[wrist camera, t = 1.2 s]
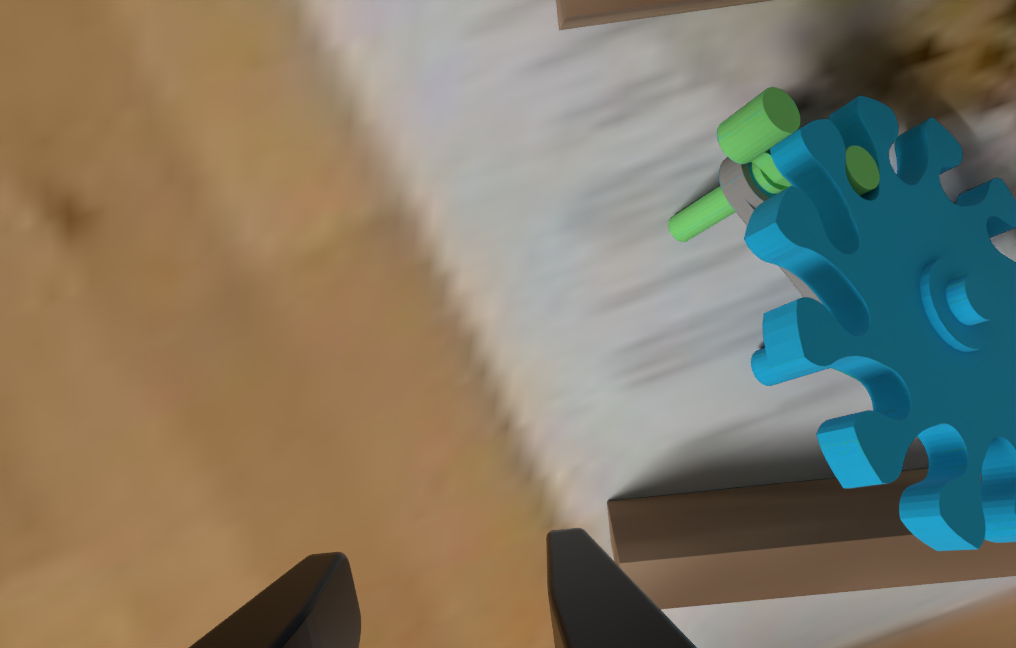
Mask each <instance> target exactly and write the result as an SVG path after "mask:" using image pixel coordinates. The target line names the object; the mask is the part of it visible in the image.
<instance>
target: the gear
mask: <svg viewBox="0 0 1016 648" xmlns="http://www.w3.org/2000/svg"><path fill="white" fill-rule="evenodd" d="M800 120H801V119H800V114H799V111H798V108H797V106H796V104H795V103H794V101H793V100H792V98H791V97H790V96H789V95H788V94H787V93H785V92H784V91H783V90H781V89H779V88H776V87H770V88H767V89H766V90H765V91H763V92H762V93H761V94H759V95H758V96H757V97H755V98H754V99H753V100H751V101H750V102H749V103H748V104H746V105H745V106H744V107H742V108H741V109H740V110H738V111H737V112H736V113H734V114H733V115H732V116H730V117H729V118H728V119H726V120H725V121H724V122H722V123H721V124H720V125H719V127H718V130H717V138H718V142H719V145H720V147H721V149H722V150H723V152H724V153H725V154H726V155H727V156H728V158H726V159H725V160H724V161H723V162H722V164H721V166H720V170H719V182H720V186H719V187H717V188H716V189H714V190H713V191H711V192H709V193H708V194H706V195H705V196H703V197H702V198H700V199H699V200H697V201H696V202H694V203H693V204H691V205H690V206H688V207H687V208H685V209H683V210H682V211H680V212H679V213H677V214H676V215H674V216H673V217H671V218H670V220H669V225H668V226H669V230H670V233H671V234H672V236H673V237H674V238H675V239H677V240H678V241H680V242H686V241H688V240H689V239H691V238H693V237H694V236H696V235H698V234H699V233H701V232H703V231H704V230H706V229H708V228H710V227H711V226H713V225H715V224H716V223H718V222H720V221H721V220H723V219H725V218H726V217H728V216H730V215H731V214H733V213H735V212H736V213H737V214H738V215H739V216H740V218H741V219H742V220H743V222H744V223H745V224H746V225H747V229H746V233H745V237H744V240H745V242H746V244H747V246H748V247H749V248H750V250H751V251H752V252H753V253H754V254H755V255H756V256H757V257H758V258H760V259H761V260H763V261H765V262H768V263H772V264H775V265H778V266H779V267H780V268H781V269H782V271H783V272H784V273H785V274H786V276H787V277H788V278H789V279H790V281H791V282H792V283H793V284H794V286H795V287H796V288H797V289H798V291H799V292H800V293H801V294H802V296H803V298H800V299H797V300H795V301H793V302H790V303H788V304H785V305H783V306H781V307H778V308H776V309H773V310H771V311H769V312H766V313H764V317H763V338H764V345H765V348H762V349H760V350H757V351H756V352H754V354H753V355H752V358H751V367H752V371H753V373H754V375H755V377H756V378H757V380H758V381H759V382H760V383H762V384H764V385H766V386H772V385H775V384H778V383H782V382H785V381H788V380H792V379H795V378H798V377H802V376H805V375H808V374H812V373H815V372H818V371H822V370H825V369H828V368H832V369H835V370H838V371H840V372H843V373H845V374H847V375H849V376H851V377H853V378H855V379H857V380H858V381H860V382H861V383H862V384H863V385H864V386H865V388H866V389H867V391H868V393H869V395H870V397H871V400H872V403H873V411H864V412H859V413H855V414H851V415H846V416H842V417H838V418H833V419H829V420H826V421H825V422H824V423H822V424H821V426H820V427H819V429H818V432H817V434H816V435H817V438H818V441H819V444H820V447H821V450H822V452H823V454H824V457H825V459H826V461H827V462H828V464H829V466H830V468H831V469H832V471H833V473H834V474H835V476H836V477H837V479H838V481H839V482H840V484H841V485H842V487H843V488H857V487H865V486H872V485H880V484H888V483H891V482H893V481H895V480H896V479H897V478H898V477H899V475H900V473H901V471H902V467H903V463H904V459H905V456H906V453H907V451H908V448H909V446H910V445H911V443H912V442H913V440H914V439H915V437H916V436H917V437H918V438H919V439H920V440H921V442H922V443H923V445H924V447H925V449H926V452H927V455H928V460H929V469H928V474H927V476H926V478H925V479H924V480H922V481H921V482H918V483H916V484H913V485H911V486H909V487H907V488H906V489H905V490H904V491H903V493H902V495H901V498H900V503H899V514H900V519H901V521H902V522H903V523H904V525H905V526H906V527H907V529H908V530H909V531H910V532H911V533H912V534H913V535H914V536H915V537H917V538H918V539H919V540H921V541H922V542H923V543H925V544H926V545H928V546H930V547H931V548H933V549H934V550H936V551H951V550H975V549H979V548H980V547H981V546H982V544H983V541H984V539H985V540H987V541H990V542H995V543H1004V542H1016V262H1014V261H1012V260H1011V259H1009V258H1008V257H1006V256H1004V255H1003V254H1001V253H1000V252H999V251H998V250H997V249H996V248H995V247H994V245H993V244H992V242H991V240H990V238H991V237H994V236H996V235H999V234H1001V233H1004V232H1006V231H1009V230H1011V229H1014V228H1016V201H1015V199H1014V197H1013V196H1012V194H1011V192H1010V191H1009V189H1008V188H1007V186H1006V185H1005V183H1004V181H1003V180H1002V179H999V178H994V179H992V180H990V181H988V182H986V183H983V184H981V185H979V186H977V187H975V188H973V189H970V190H968V191H966V192H964V193H962V194H960V195H959V197H958V199H957V203H956V205H955V204H954V203H953V202H952V201H951V200H950V199H949V198H948V197H947V196H946V194H945V193H944V191H943V189H942V186H941V183H940V179H939V175H940V174H942V173H944V172H946V171H948V170H950V169H952V168H954V167H956V166H958V165H959V164H960V163H961V161H962V157H963V153H962V147H961V146H960V145H959V143H958V142H957V140H956V139H955V138H954V137H953V136H952V135H951V134H950V132H949V131H947V130H946V129H945V128H944V127H943V126H942V125H941V124H940V123H939V122H938V121H936V120H935V119H934V118H933V117H931V118H929V119H927V120H926V121H924V122H922V123H920V124H919V125H917V126H915V127H913V128H912V129H910V130H908V131H906V132H905V133H903V134H901V135H899V136H898V132H899V128H898V122H897V119H896V116H895V114H894V112H893V110H892V109H890V108H889V107H888V106H886V105H885V104H883V103H881V102H879V101H877V100H874V99H871V98H868V97H864V96H860V95H859V96H858V97H856V98H855V99H853V100H852V101H850V102H849V103H847V104H846V105H844V106H843V107H841V108H840V109H838V110H836V111H835V112H833V113H832V114H830V115H829V118H828V120H827V119H820V120H815V121H813V122H810V123H808V124H807V125H805V126H804V127H802V128H800V129H799V130H798V128H799V126H800ZM795 131H796V132H795ZM792 133H793V134H792ZM789 135H790V136H789ZM786 137H787V138H786ZM783 139H784V140H783ZM895 140H896V141H895ZM780 141H781V142H780ZM894 141H895V152H896V157H897V175H896V173H895V172H894V170H893V168H892V166H891V164H890V160H889V149H890V147H891V145H892V144H893V143H894ZM981 472H982V482H981Z"/></svg>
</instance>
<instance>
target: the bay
mask: <svg viewBox="0 0 1016 648" xmlns="http://www.w3.org/2000/svg"><path fill="white" fill-rule="evenodd" d="M763 1H771V0H556V3H557V13H558V23H559V30H563V29H570V28H577V27H585V26H592V25H599V24H606V23H613V22H620V21H628V20H635V19H642V18H649V17H656V16H663V15H670V14H678V13H685V12H692V11H699V10H706V9H713V8H721V7H728V6H735V5H742V4H749V3H756V2H763ZM928 469H929V468H928ZM928 469H918V470H908V471H901V473H900V475H899V477H898V478H897V479H896V480H895V481H893V482H891V483H888V484H880V485H872V486H865V487H857V488H843V487H842V485H841V484H840V482H839V481H838V479H837V478H830V479H821V480H811V481H801V482H792V483H782V484H772V485H762V486H753V487H743V488H733V489H724V490H714V491H704V492H694V493H685V494H675V495H665V496H655V497H646V498H636V499H626V500H617V501H607V506H608V516H609V526H610V535H611V545H612V551H613V556H614V561H615V563H616V564H617V565H618V566H619V567H620V568H621V569H622V570H623V571H624V572H625V573H626V574H627V575H628V576H629V577H630V578H631V580H632V581H633V582H634V583H635V584H636V585H637V586H638V587H639V588H640V589H641V590H642V591H643V592H644V593H645V594H646V595H647V596H648V597H649V598H650V599H651V600H652V601H653V603H654V604H655V605H656V606H657V607H658V608H659V609H668V608H678V607H689V606H699V605H710V604H721V603H731V602H742V601H753V600H763V599H774V598H784V597H795V596H806V595H816V594H827V593H838V592H848V591H859V590H869V589H880V588H891V587H901V586H912V585H922V584H933V583H944V582H954V581H965V580H976V579H986V578H997V577H1007V576H1016V542H1004V543H995V542H990V541H987V540H985V539H984V541H983V544H982V546H981V547H980V548H979V549H975V550H951V551H936V550H934V549H933V548H931V547H930V546H928V545H926V544H925V543H923V542H922V541H921V540H919V539H918V538H917V537H915V536H914V535H913V534H912V533H911V532H910V531H909V530H908V529H907V527H906V526H905V525H904V523H903V522H902V521H901V519H900V514H899V503H900V498H901V495H902V493H903V491H904V490H905V489H906V488H907V487H909V486H911V485H913V484H916V483H918V482H921V481H922V480H924V479H925V478H926V476H927V474H928ZM981 482H982V472H981Z"/></svg>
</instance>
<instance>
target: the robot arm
mask: <svg viewBox="0 0 1016 648" xmlns="http://www.w3.org/2000/svg"><path fill="white" fill-rule="evenodd" d="M546 541H547V586H548V597H549V604H550V612H551V619H552V627H553V634H554V642H555V648H696V646H695V645H694V644H693V643H692V642H691V641H690V640H689V639H688V638H687V637H686V636H685V635H684V634H683V633H682V632H681V631H680V630H679V629H678V628H677V627H676V626H675V625H674V623H673V622H672V621H671V620H670V619H669V618H668V617H667V616H666V615H665V614H664V613H663V612H662V611H661V610H660V609H659V608H658V607H657V606H656V605H655V604H654V603H653V601H652V600H651V599H650V598H649V597H648V596H647V595H646V594H645V593H644V592H643V591H642V590H641V589H640V588H639V587H638V586H637V585H636V584H635V583H634V582H633V581H632V580H631V578H630V577H629V576H628V575H627V574H626V573H625V572H624V571H623V570H622V569H621V568H620V567H619V566H618V565H617V564H616V563H615V562H614V561H613V560H612V559H611V558H610V557H609V555H608V554H607V553H606V552H605V551H604V550H603V549H602V548H601V547H600V546H599V545H598V544H597V543H596V542H595V541H594V540H593V539H592V538H591V537H590V536H589V535H588V533H587V532H586V531H585V530H583V529H581V528H571V529H562V530H552V531H550V532H549V533H548V534H547V538H546ZM360 634H361V615H360V609H359V604H358V599H357V595H356V590H355V586H354V581H353V577H352V572H351V568H350V564H349V561H348V559H347V557H346V555H345V554H343V553H342V552H332V553H322V554H312V555H309V556H307V557H306V558H305V559H303V560H302V561H301V562H299V563H298V564H297V565H295V566H294V567H293V568H292V569H290V570H289V571H288V572H286V573H285V574H284V575H282V576H281V577H280V578H279V579H277V580H276V581H275V582H273V583H272V584H271V585H270V586H268V587H267V588H266V589H264V590H263V591H262V592H260V593H259V594H258V595H257V596H255V597H254V598H253V599H251V600H250V601H249V602H247V603H246V604H245V605H244V606H242V607H241V608H240V609H238V610H237V611H236V612H234V613H233V614H232V615H231V616H229V617H228V618H227V619H225V620H224V621H223V622H221V623H220V624H219V625H218V626H216V627H215V628H214V629H212V630H211V631H210V632H208V633H207V634H206V635H205V636H203V637H202V638H201V639H199V640H198V641H197V642H195V643H194V644H193V645H192V646H190V647H189V648H359V642H360Z"/></svg>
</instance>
